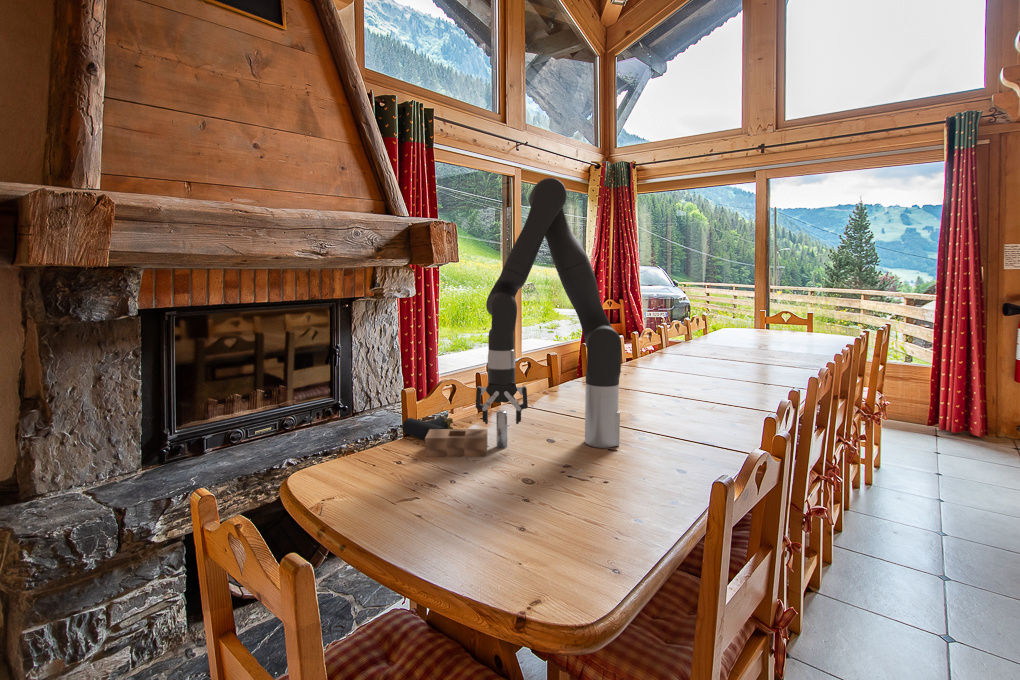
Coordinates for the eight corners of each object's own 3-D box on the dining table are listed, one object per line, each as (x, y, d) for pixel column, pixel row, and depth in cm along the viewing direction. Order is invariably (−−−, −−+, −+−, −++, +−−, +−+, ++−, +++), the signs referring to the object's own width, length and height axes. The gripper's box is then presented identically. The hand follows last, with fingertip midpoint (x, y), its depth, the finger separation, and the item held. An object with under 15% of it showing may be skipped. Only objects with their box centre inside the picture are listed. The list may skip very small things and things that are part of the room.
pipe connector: (431, 411, 168) (465, 419, 158) (432, 427, 168) (465, 437, 158) (401, 419, 159) (435, 429, 149) (402, 436, 160) (435, 447, 150)
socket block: (487, 446, 149) (487, 429, 148) (486, 456, 141) (485, 438, 141) (430, 446, 149) (429, 429, 149) (425, 456, 141) (424, 438, 141)
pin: (507, 444, 151) (507, 410, 149) (507, 448, 148) (507, 413, 146) (496, 444, 151) (496, 410, 149) (496, 448, 148) (496, 413, 146)
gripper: (527, 363, 150) (527, 419, 152) (476, 363, 150) (477, 419, 152) (528, 368, 142) (527, 427, 144) (474, 368, 143) (475, 427, 145)
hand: (501, 423), depth 148 cm, fingers open, 8 cm apart
